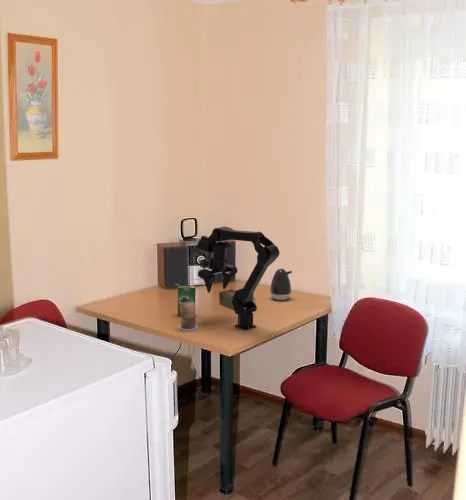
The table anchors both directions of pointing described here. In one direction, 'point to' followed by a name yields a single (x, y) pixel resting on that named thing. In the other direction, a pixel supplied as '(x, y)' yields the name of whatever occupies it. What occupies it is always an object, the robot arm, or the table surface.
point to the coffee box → (185, 295)
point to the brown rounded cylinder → (188, 315)
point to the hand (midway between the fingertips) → (216, 290)
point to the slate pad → (188, 329)
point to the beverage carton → (228, 298)
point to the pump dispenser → (280, 285)
